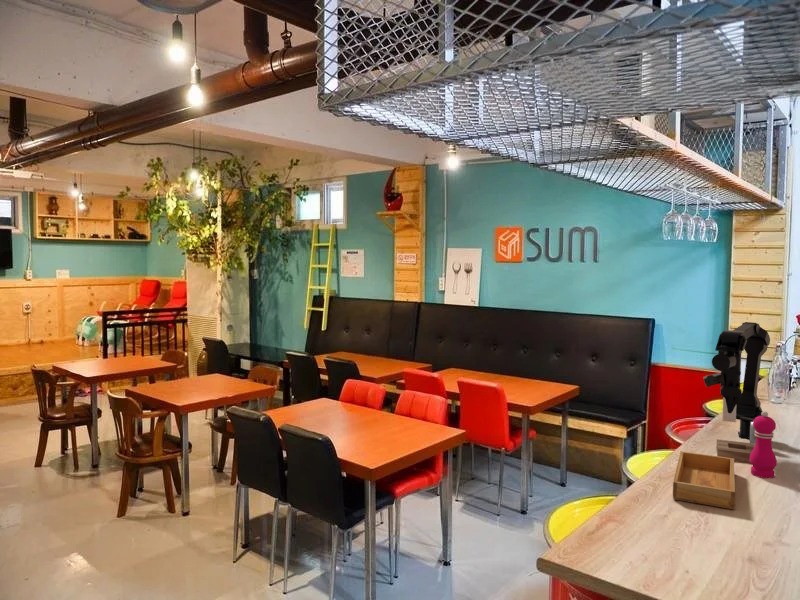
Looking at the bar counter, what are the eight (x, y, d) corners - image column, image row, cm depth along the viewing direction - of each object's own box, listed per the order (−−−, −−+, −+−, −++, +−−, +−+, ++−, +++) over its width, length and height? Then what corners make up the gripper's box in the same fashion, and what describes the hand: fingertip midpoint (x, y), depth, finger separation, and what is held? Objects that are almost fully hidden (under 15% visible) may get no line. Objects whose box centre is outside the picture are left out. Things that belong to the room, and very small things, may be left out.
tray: (679, 466, 191) (680, 449, 191) (733, 474, 184) (734, 457, 184) (672, 501, 164) (672, 481, 164) (734, 512, 157) (735, 492, 157)
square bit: (722, 418, 208) (723, 393, 208) (735, 419, 207) (736, 394, 206) (722, 420, 205) (723, 395, 204) (735, 422, 203) (736, 396, 202)
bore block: (716, 447, 208) (716, 439, 208) (755, 452, 203) (756, 443, 203) (717, 458, 198) (717, 449, 197) (759, 463, 192) (759, 454, 192)
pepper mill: (768, 470, 186) (771, 408, 184) (781, 479, 179) (783, 414, 177) (744, 470, 186) (746, 408, 185) (756, 478, 179) (758, 414, 178)
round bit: (749, 444, 211) (749, 420, 210) (762, 446, 209) (763, 421, 208) (749, 448, 207) (750, 423, 207) (763, 449, 205) (764, 424, 205)
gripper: (705, 361, 217) (704, 403, 218) (704, 369, 200) (703, 414, 201) (740, 364, 211) (738, 406, 212) (742, 372, 195) (740, 419, 196)
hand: (729, 411), depth 206 cm, fingers closed on square bit, 4 cm apart
